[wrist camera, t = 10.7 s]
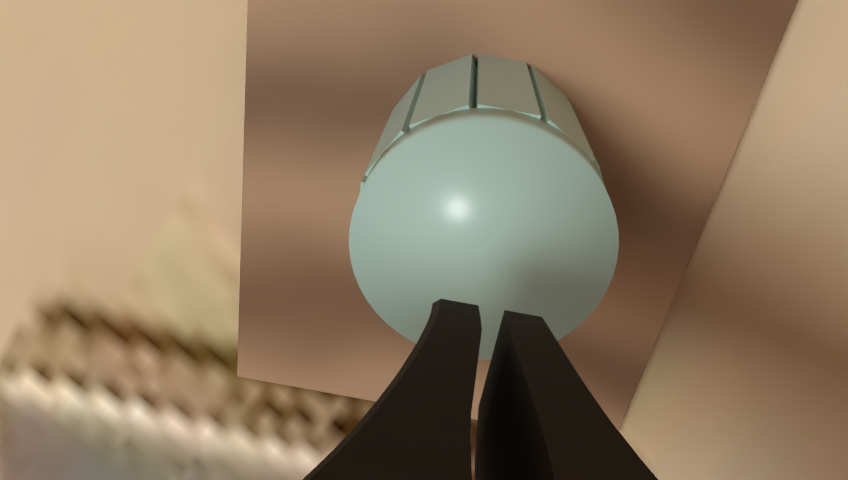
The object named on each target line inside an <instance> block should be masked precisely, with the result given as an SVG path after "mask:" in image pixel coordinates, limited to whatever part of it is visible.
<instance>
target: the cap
mask: <svg viewBox="0 0 848 480" xmlns="http://www.w3.org/2000/svg"><path fill="white" fill-rule="evenodd" d="M618 250H619V231H618V225H617V219H616V214H615V211H614V208H613V206H612V203H611V200H610V197H609V195H608V193H607V190H606V188H605V185H604V182H603V178H602V174H601V171H600V167H599V165H598V162H597V160H596V158H595V156H594V154H593V151H592V149H591V147H590V145H589V142H588V140H587V138H586V136H585V133H584V131H583V129H582V127H581V125H580V122H579V120H578V118H577V116H576V113H575V111H574V109H573V107H572V105H571V102H569V100H568V98H567V96H566V95H565V94H564V93H563V92H562V91H560V90H559V89H558V88H557V87H556V86H555V85H554V84H553V83H552V82H550V81H549V80H548V79H547V78H546V77H545V76H544V75H543V74H542V73H540V72H539V71H538V70H537V69H536V68H535V67H534V66H533V65H532V66H531V68H530V69H529V70H528V67H527V64H526V62H522V61H516V60H511V59H506V58H500V57H495V56H489V55H484V54H479V57H478V62H477V66H476V65H475V62H474V59H473V56H472V54H471V55H468V56H466V57H463V58H460V59H457V60H455V61H452V62H449V63H446V64H443V65H441V66H438V67H435V68H432V69H430V70H427V73H426V76H425V77H424V76H423V75H421V76H420V77H419V78H418V79H417V81H416V82H415V83H414V84H413V85H412V87H411V88H410V89H409V90H408V92H407V93H406V94H405V95H404V96H403V98H402V99H401V100H400V101H399V103H398V104H397V105H396V106H395V107H394V109H393V110H392V113H391V115H390V117H389V119H388V122H387V124H386V126H385V128H384V131H383V133H382V135H381V138H380V140H379V142H378V144H377V147H376V149H375V151H374V153H373V156H372V158H371V160H370V163H369V165H368V167H367V169H366V172H365V174H364V176H363V179H362V181H361V186H360V194H359V197H358V199H357V202H356V205H355V207H354V210H353V213H352V218H351V223H350V228H349V251H350V260H351V264H352V268H353V272H354V275H355V278H356V280H357V283H358V285H359V287H360V289H361V291H362V293H363V294H364V296H365V298H366V300H367V301H368V303H369V304H370V305H371V307H372V308H373V309H374V311H375V312H376V313H377V314H378V315H379V316H380V317H381V318H382V319H383V320H384V321H385V322H386V323H387V324H388V325H389V326H390V327H392V328H393V329H394V330H395V331H397V332H398V333H399V334H401V335H402V336H404V337H406V338H407V339H409V340H410V341H412V342H414V343H416V344H417V342H418V340H419V338H420V336H421V334H422V332H423V330H424V328H425V326H426V324H427V322H428V319H429V316H430V314H431V309H432V304H433V303H434V302H436V301H438V300H439V299H446V300H451V301H457V302H463V303H468V304H474V305H478V306H479V312H480V317H481V326H482V332H481V341H480V349H479V357H478V359H480V360H491V358H492V354H493V351H494V347H495V343H496V339H497V336H498V332H499V328H500V324H501V321H502V317H503V313H504V310H507V311H512V312H518V313H523V314H529V315H534V316H540V317H542V318H543V319H544V321H545V322H546V324H547V325H548V327H549V328H550V330H551V332H552V333H553V335H554V336H555V338H556V340H559V339H561V338H563V337H564V336H566V335H567V334H568V333H570V332H571V331H572V330H574V329H575V328H577V327H578V326H579V325H580V324H581V323H582V322H583V321H584V320H585V319H586V318H587V317H588V316H589V315H590V314H591V313H592V311H593V310H594V309H595V308H596V307H597V305H598V304H599V302H600V301H601V299H602V298H603V296H604V294H605V293H606V291H607V289H608V287H609V284H610V282H611V280H612V278H613V274H614V271H615V267H616V264H617V258H618Z"/></svg>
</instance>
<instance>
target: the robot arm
mask: <svg viewBox="0 0 848 480" xmlns="http://www.w3.org/2000/svg"><path fill="white" fill-rule="evenodd" d="M481 332H482V326H481V317H480V312H479V306H478V305H474V304H468V303H463V302H457V301H451V300H446V299H439V300H438V301H436V302H434V303H433V304H432V309H431V314H430V316H429V319H428V322H427V324H426V326H425V328H424V330H423V332H422V334H421V336H420V338H419V340H418V342H417V344H416V345H415V347H414V348H413V350H412V352H411V353H410V355H409V356H408V358H407V359H406V361H405V363H404V364H403V366H402V367H401V369H400V370H399V372H398V373H397V375H396V376H395V378H394V379H393V380H392V382H391V383H390V384H389V386H388V387H387V388H386V389H385V391H384V392H383V393H382V395H381V396H380V397H379V399H378V400H377V401H376V402H375V404H374V405H373V406H372V408H371V409H370V410H369V411H368V412H367V414H366V415H365V416H364V417H363V418H362V419H361V421H360V422H359V423H358V424H357V425H356V426H355V427H354V429H353V430H352V431H351V432H350V433H349V434H348V435H347V436H346V437H345V438H344V439H343V440H342V441H341V443H340V444H339V445H338V446H337V447H336V448H335V449H334V450H333V451H332V452H331V453H330V454H329V455H328V456H327V457H326V458H325V459H324V460H323V461H322V462H321V463H319V464H318V465H317V466H316V467H315V468H314V469H313V470H312V471H311V472H310V473H309V474H308V475H307V476H306V477H305V478H304V479H303V480H472V473H471V448H470V426H471V411H472V403H473V395H474V387H475V380H476V372H477V364H478V357H479V349H480V341H481ZM475 479H476V480H658V479H657V478H656V477H655V476H654V474H653V473H652V472H651V471H650V470H649V469H648V467H647V466H646V465H645V464H644V463H643V461H642V460H641V459H640V458H639V457H638V455H637V454H636V453H635V451H634V450H633V449H632V448H631V446H630V445H629V444H628V443H627V441H626V440H625V439H624V438H623V436H622V435H621V434H620V432H619V431H618V430H617V429H616V427H615V426H614V425H613V423H612V422H611V421H610V419H609V418H608V417H607V415H606V414H605V412H604V411H603V410H602V408H601V407H600V405H599V404H598V402H597V401H596V399H595V398H594V397H593V395H592V394H591V392H590V391H589V389H588V388H587V386H586V385H585V383H584V382H583V380H582V379H581V377H580V376H579V374H578V373H577V371H576V370H575V368H574V367H573V365H572V363H571V362H570V360H569V359H568V357H567V356H566V354H565V352H564V351H563V349H562V348H561V346H560V344H559V343H558V341H557V340H556V338H555V336H554V335H553V333H552V332H551V330H550V328H549V327H548V325H547V324H546V322H545V321H544V319H543V318H542V317H540V316H534V315H529V314H523V313H518V312H512V311H507V310H504V313H503V317H502V321H501V324H500V328H499V332H498V336H497V339H496V343H495V347H494V351H493V354H492V358H491V362H490V365H489V369H488V373H487V377H486V380H485V384H484V388H483V392H482V395H481V399H480V403H479V407H478V421H477V435H476V451H475Z"/></svg>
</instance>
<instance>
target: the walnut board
mask: <svg viewBox="0 0 848 480" xmlns="http://www.w3.org/2000/svg"><path fill="white" fill-rule="evenodd" d="M797 1H798V0H248V15H247V50H246V86H245V121H244V156H243V191H242V226H241V262H240V297H239V332H238V367H237V376H238V377H244V378H250V379H255V380H261V381H266V382H272V383H277V384H283V385H288V386H294V387H299V388H305V389H310V390H316V391H321V392H327V393H333V394H338V395H344V396H349V397H355V398H360V399H366V400H371V401H377V400H378V399H379V397H380V396H381V395H382V393H383V392H384V391H385V389H386V388H387V387H388V386H389V384H390V383H391V382H392V380H393V379H394V378H395V376H396V375H397V373H398V372H399V370H400V369H401V367H402V366H403V364H404V363H405V361H406V359H407V358H408V356H409V355H410V353H411V352H412V350H413V348H414V347H415V345H416V343H414V342H412V341H410V340H409V339H407V338H406V337H404V336H402V335H401V334H399V333H398V332H397V331H395V330H394V329H393V328H392V327H390V326H389V325H388V324H387V323H386V322H385V321H384V320H383V319H382V318H381V317H380V316H379V315H378V314H377V313H376V312H375V311H374V309H373V308H372V307H371V305H370V304H369V303H368V301H367V300H366V298H365V296H364V294H363V293H362V291H361V289H360V287H359V285H358V283H357V280H356V278H355V275H354V272H353V268H352V264H351V260H350V251H349V228H350V223H351V218H352V213H353V210H354V207H355V205H356V202H357V199H358V197H359V194H360V186H361V181H362V179H363V176H364V174H365V172H366V169H367V167H368V165H369V163H370V160H371V158H372V156H373V153H374V151H375V149H376V147H377V144H378V142H379V140H380V138H381V135H382V133H383V131H384V128H385V126H386V124H387V122H388V119H389V117H390V115H391V113H392V110H393V109H394V107H395V106H396V105H397V104H398V103H399V101H400V100H401V99H402V98H403V96H404V95H405V94H406V93H407V92H408V90H409V89H410V88H411V87H412V85H413V84H414V83H415V82H416V81H417V79H418V78H419V77H420V76H421V75H423V76H424V77H425V76H426V73H427V70H430V69H432V68H435V67H438V66H441V65H443V64H446V63H449V62H452V61H455V60H457V59H460V58H463V57H466V56H468V55H471V54H472V56H473V59H474V62H475V65H476V66H477V62H478V57H479V54H484V55H489V56H495V57H500V58H506V59H511V60H516V61H522V62H526V64H527V67H528V70H529V69H530V68H531V66H532V65H533V66H534V67H535V68H536V69H537V70H538V71H539V72H540V73H542V74H543V75H544V76H545V77H546V78H547V79H548V80H549V81H550V82H552V83H553V84H554V85H555V86H556V87H557V88H558V89H559V90H560V91H562V92H563V93H564V94H565V95H566V96H567V98H568V100H569V102H571V105H572V107H573V109H574V111H575V113H576V116H577V118H578V120H579V122H580V125H581V127H582V129H583V131H584V133H585V136H586V138H587V140H588V142H589V145H590V147H591V149H592V151H593V154H594V156H595V158H596V160H597V162H598V165H599V167H600V171H601V174H602V178H603V182H604V185H605V188H606V190H607V193H608V195H609V197H610V200H611V203H612V206H613V208H614V211H615V214H616V219H617V225H618V231H619V250H618V258H617V264H616V267H615V271H614V274H613V278H612V280H611V282H610V284H609V287H608V289H607V291H606V293H605V294H604V296H603V298H602V299H601V301H600V302H599V304H598V305H597V307H596V308H595V309H594V310H593V311H592V313H591V314H590V315H589V316H588V317H587V318H586V319H585V320H584V321H583V322H582V323H581V324H580V325H579V326H578V327H577V328H575V329H574V330H572V331H571V332H570V333H568V334H567V335H566V336H564V337H563V338H561V339H559V340H557V341H558V343H559V344H560V346H561V348H562V349H563V351H564V352H565V354H566V356H567V357H568V359H569V360H570V362H571V363H572V365H573V367H574V368H575V370H576V371H577V373H578V374H579V376H580V377H581V379H582V380H583V382H584V383H585V385H586V386H587V388H588V389H589V391H590V392H591V394H592V395H593V397H594V398H595V399H596V401H597V402H598V404H599V405H600V407H601V408H602V410H603V411H604V412H605V414H606V415H607V417H608V418H609V419H610V421H611V422H612V423H613V425H614V426H615V427H616V429H617V430H618V431H619V429H620V426H621V424H622V421H623V419H624V417H625V414H626V412H627V409H628V407H629V405H630V402H631V400H632V397H633V395H634V393H635V390H636V388H637V385H638V383H639V381H640V378H641V376H642V373H643V371H644V369H645V366H646V364H647V361H648V359H649V357H650V354H651V352H652V349H653V347H654V345H655V342H656V340H657V337H658V335H659V333H660V330H661V328H662V325H663V323H664V321H665V318H666V316H667V313H668V311H669V309H670V306H671V304H672V301H673V299H674V297H675V294H676V292H677V289H678V287H679V285H680V282H681V280H682V277H683V275H684V273H685V270H686V268H687V265H688V263H689V261H690V258H691V256H692V253H693V251H694V249H695V246H696V244H697V241H698V239H699V236H700V234H701V232H702V229H703V227H704V224H705V222H706V220H707V217H708V215H709V212H710V210H711V208H712V205H713V203H714V200H715V198H716V196H717V193H718V191H719V188H720V186H721V184H722V181H723V179H724V176H725V174H726V172H727V169H728V167H729V164H730V162H731V160H732V157H733V155H734V152H735V150H736V148H737V145H738V143H739V140H740V138H741V136H742V133H743V131H744V128H745V126H746V124H747V121H748V119H749V116H750V114H751V112H752V109H753V107H754V104H755V102H756V100H757V97H758V95H759V92H760V90H761V88H762V85H763V83H764V80H765V78H766V76H767V73H768V71H769V68H770V66H771V64H772V61H773V59H774V56H775V54H776V52H777V49H778V47H779V44H780V42H781V40H782V37H783V35H784V32H785V30H786V28H787V25H788V23H789V20H790V18H791V16H792V13H793V11H794V8H795V6H796V4H797ZM490 362H491V360H480V359H478V364H477V372H476V380H475V387H474V395H473V403H472V411H471V419H476V420H478V407H479V403H480V399H481V395H482V392H483V388H484V384H485V380H486V377H487V373H488V369H489V365H490Z"/></svg>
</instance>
